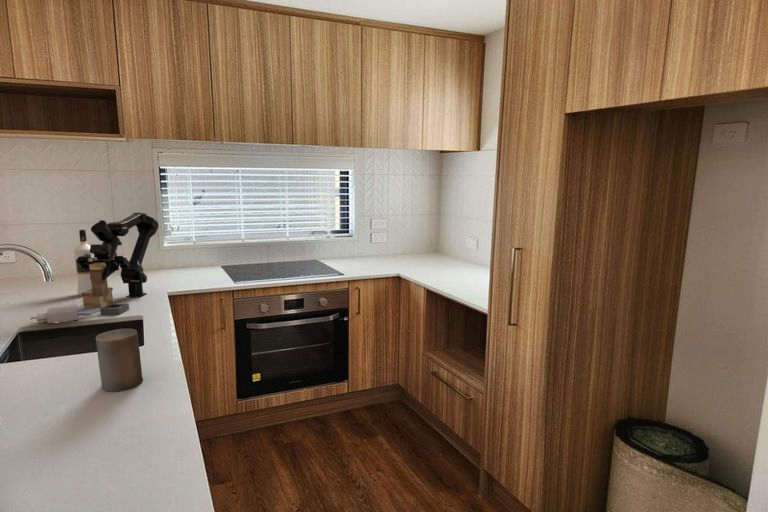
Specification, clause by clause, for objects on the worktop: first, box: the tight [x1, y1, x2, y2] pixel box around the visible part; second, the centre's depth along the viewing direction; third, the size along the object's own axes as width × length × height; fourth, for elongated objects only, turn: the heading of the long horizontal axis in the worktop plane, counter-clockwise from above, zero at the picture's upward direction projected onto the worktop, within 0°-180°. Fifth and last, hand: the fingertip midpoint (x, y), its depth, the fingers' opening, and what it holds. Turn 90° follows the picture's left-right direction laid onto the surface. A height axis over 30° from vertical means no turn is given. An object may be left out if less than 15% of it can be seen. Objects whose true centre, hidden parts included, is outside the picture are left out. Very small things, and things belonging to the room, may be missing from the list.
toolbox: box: [80, 286, 114, 308], centre depth 207 cm, size 10×8×8 cm
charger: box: [30, 304, 79, 324], centre depth 186 cm, size 5×9×15 cm
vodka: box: [73, 229, 97, 297], centre depth 225 cm, size 9×9×30 cm
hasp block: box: [99, 303, 130, 316], centre depth 197 cm, size 7×7×2 cm
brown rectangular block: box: [89, 263, 109, 297], centre depth 195 cm, size 4×4×13 cm
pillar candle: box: [95, 328, 144, 393], centre depth 128 cm, size 10×10×15 cm
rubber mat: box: [78, 307, 100, 315], centre depth 198 cm, size 8×8×1 cm
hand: (97, 280), depth 194 cm, fingers closed on brown rectangular block, 4 cm apart
